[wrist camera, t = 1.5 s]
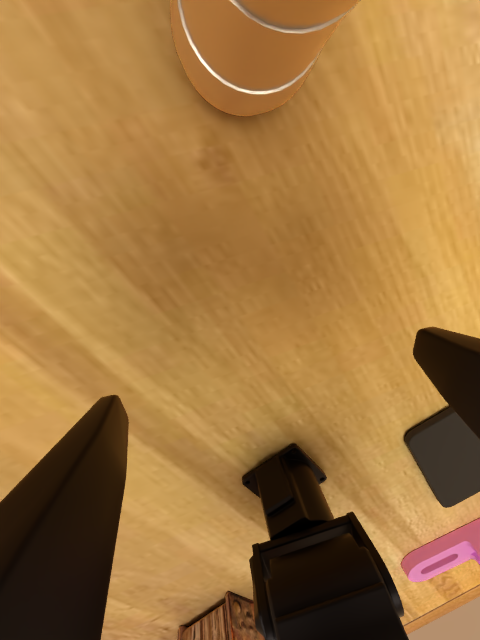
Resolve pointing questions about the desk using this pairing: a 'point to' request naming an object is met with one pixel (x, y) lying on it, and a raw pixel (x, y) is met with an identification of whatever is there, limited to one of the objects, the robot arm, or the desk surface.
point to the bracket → (444, 553)
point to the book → (225, 622)
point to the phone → (447, 456)
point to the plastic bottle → (252, 47)
